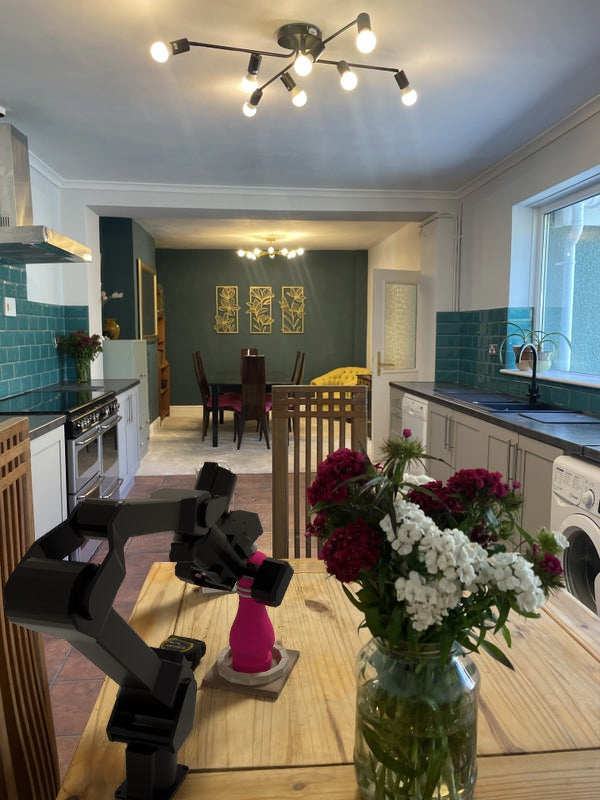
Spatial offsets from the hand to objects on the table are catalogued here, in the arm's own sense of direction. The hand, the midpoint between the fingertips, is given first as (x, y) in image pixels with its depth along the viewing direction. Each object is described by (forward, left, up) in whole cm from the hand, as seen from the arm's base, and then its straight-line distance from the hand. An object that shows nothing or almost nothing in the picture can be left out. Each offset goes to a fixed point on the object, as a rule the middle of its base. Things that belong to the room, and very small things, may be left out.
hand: (255, 595), depth 93 cm
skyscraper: (+26, +18, -12) cm, 34 cm away
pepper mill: (-1, 0, -11) cm, 11 cm away
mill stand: (-1, 0, -12) cm, 12 cm away
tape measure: (-2, +12, -12) cm, 18 cm away
